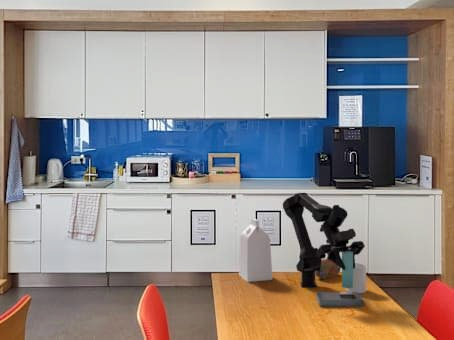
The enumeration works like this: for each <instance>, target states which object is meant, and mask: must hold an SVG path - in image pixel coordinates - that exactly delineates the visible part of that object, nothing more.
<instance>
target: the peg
mask: <svg viewBox="0 0 454 340" xmlns="http://www.w3.org/2000/svg"><path fill="white" fill-rule="evenodd" d="M341 259H342V261H343V263H344V266H345V270H343V269H342V268H341V287H342V288H344V289H346V288H352V287H353V252H351V251H343V252H341Z"/></svg>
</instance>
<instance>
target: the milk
mask: <svg viewBox="0 0 454 340" xmlns="http://www.w3.org/2000/svg"><path fill="white" fill-rule="evenodd" d="M271 249H272V247H271V238H270V236H269V234H267V233H266V232H265V231H264V230H263V229H262V228H261V227H260V222H259V219H256V218H250V224H249V225H248V226H247V227H246V228H245V229H244V230H243V231H242V232H241V233H240V237H239V260H238V263H239V264H238V265H239V266H238V267H239V269H238V276H239V277H240V276H241V277H240V278H242V279H243V280H244V281H245V282H248V283H251V282H259V281H260V282H261V281H272V280H273V268H272V267H273V265H272V252H271V251H272V250H271Z"/></svg>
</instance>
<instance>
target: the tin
mask: <svg viewBox="0 0 454 340" xmlns="http://www.w3.org/2000/svg"><path fill="white" fill-rule="evenodd" d="M321 260H322V263H321V267H320V271H315V276H316V277H317V278H318V279H322V280H328V279H330V278H333V277H334V278H335V277H337V276H338V275H339V274H340V271H341V268H340V267H339V266H338V265H336V264H335V263H334V262H332V261H331V260H327V257H325V258H323V259H321Z"/></svg>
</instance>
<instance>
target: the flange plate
mask: <svg viewBox="0 0 454 340" xmlns="http://www.w3.org/2000/svg"><path fill="white" fill-rule="evenodd" d="M316 301H317V303H318V305H319V308H322V307H323V308H325V307H326V308H327V307H328V308H329V307H330V308H331V307H335V308H336V307H341V308H342V307H350V308H352V307H354V308H355V307H360V308H361V307H362V308H363V307H364V305H365V303H364V301H365V299H363V297H362V295H361V293H359V292H347V291H342V292H341V291H340V292H330V291H329V292H316Z"/></svg>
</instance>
